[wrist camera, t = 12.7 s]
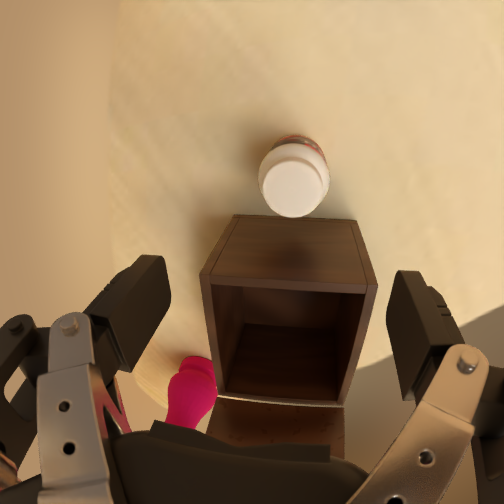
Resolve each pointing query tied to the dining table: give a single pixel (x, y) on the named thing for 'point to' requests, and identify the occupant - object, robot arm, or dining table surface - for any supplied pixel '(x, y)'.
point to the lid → (276, 424)
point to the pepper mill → (191, 392)
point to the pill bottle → (294, 176)
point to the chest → (287, 308)
